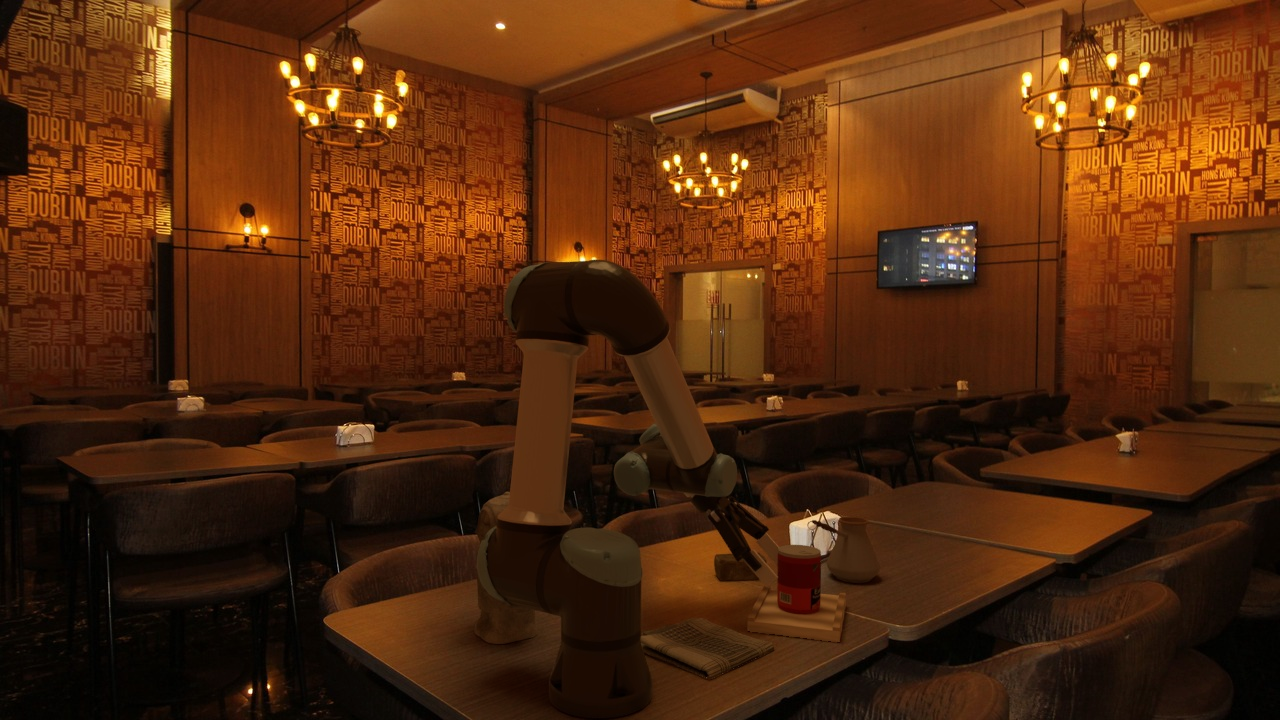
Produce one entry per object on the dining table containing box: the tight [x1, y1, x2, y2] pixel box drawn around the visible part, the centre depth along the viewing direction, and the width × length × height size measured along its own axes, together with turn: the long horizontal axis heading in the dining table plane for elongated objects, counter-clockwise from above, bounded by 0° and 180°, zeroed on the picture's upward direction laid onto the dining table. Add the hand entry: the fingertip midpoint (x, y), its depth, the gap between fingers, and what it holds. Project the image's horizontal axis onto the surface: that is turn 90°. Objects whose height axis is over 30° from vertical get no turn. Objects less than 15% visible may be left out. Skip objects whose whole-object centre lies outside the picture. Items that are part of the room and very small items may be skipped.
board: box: [746, 584, 847, 643], centre depth 147 cm, size 20×16×3 cm
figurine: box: [474, 491, 539, 645], centre depth 139 cm, size 10×14×25 cm
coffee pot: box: [807, 516, 881, 584], centre depth 170 cm, size 21×12×15 cm, turn 131°
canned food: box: [776, 544, 822, 614], centre depth 147 cm, size 8×8×11 cm
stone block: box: [713, 552, 768, 582], centre depth 173 cm, size 6×12×5 cm, turn 100°
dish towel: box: [641, 617, 775, 680], centre depth 132 cm, size 19×18×3 cm
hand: (778, 572), depth 148 cm, fingers open, 13 cm apart
